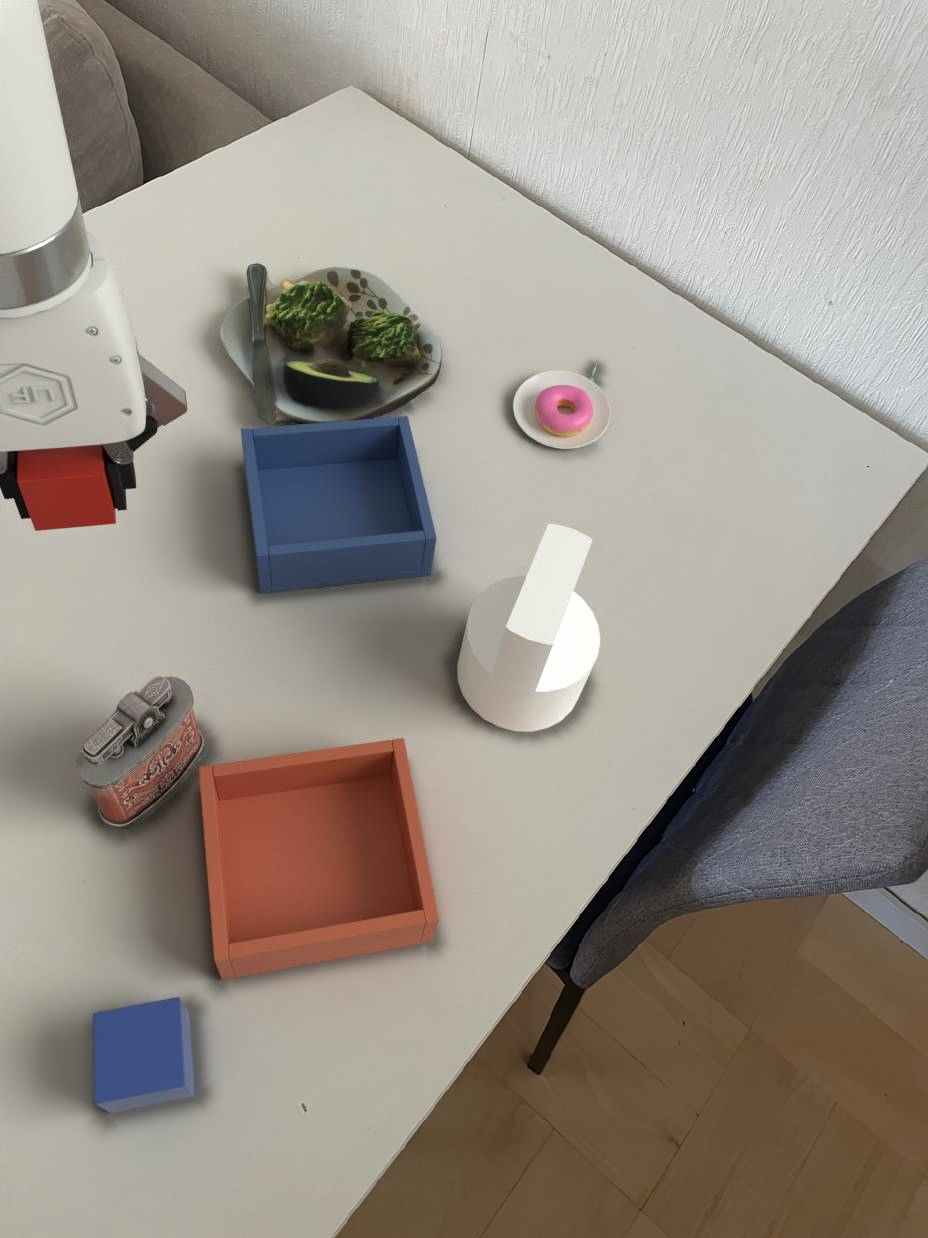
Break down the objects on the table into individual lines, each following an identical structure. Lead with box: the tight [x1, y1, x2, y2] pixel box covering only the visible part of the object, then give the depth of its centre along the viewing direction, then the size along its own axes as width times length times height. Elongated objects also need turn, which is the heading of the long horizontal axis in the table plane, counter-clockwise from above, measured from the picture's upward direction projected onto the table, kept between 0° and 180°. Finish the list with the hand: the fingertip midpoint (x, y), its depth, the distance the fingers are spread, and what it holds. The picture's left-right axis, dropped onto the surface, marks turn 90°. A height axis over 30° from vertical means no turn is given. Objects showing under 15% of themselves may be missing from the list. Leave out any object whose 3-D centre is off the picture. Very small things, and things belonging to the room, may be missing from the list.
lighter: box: [75, 675, 206, 832], centre depth 61 cm, size 8×3×10 cm, turn 145°
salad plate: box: [219, 262, 443, 426], centre depth 85 cm, size 19×18×5 cm
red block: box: [17, 444, 117, 532], centre depth 59 cm, size 4×4×4 cm
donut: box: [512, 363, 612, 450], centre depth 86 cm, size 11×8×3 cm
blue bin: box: [240, 415, 437, 595], centre depth 76 cm, size 13×12×5 cm
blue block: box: [92, 996, 196, 1115], centre depth 55 cm, size 4×4×4 cm
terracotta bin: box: [198, 737, 440, 981], centre depth 62 cm, size 13×12×5 cm
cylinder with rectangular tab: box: [456, 523, 601, 733], centre depth 68 cm, size 9×9×12 cm
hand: (74, 493), depth 60 cm, fingers closed on red block, 4 cm apart
